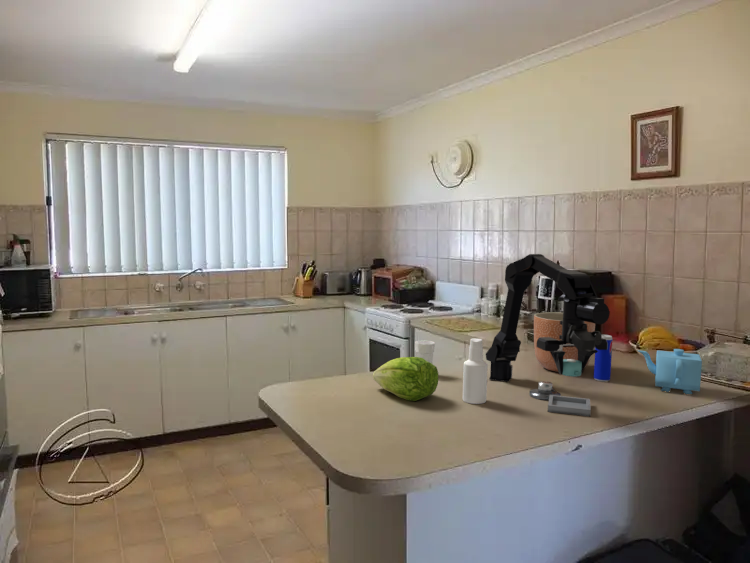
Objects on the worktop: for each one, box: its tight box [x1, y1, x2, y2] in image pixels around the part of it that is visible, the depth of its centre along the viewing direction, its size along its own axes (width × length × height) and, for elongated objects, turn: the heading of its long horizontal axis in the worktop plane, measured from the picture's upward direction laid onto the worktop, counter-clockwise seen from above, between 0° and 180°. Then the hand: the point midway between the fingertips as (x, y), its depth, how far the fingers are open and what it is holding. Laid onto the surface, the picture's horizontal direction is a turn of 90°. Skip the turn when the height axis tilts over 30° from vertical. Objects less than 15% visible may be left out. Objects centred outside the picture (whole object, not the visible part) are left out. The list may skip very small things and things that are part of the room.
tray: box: [547, 395, 592, 418], centre depth 164 cm, size 11×11×2 cm
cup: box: [414, 340, 436, 364], centre depth 199 cm, size 7×7×11 cm
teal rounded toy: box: [562, 359, 582, 378], centre depth 163 cm, size 7×6×4 cm
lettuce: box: [372, 356, 439, 402], centre depth 174 cm, size 13×22×14 cm
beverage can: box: [593, 334, 613, 383], centre depth 195 cm, size 5×5×15 cm
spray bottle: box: [462, 337, 489, 405], centre depth 169 cm, size 7×7×18 cm
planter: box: [533, 311, 596, 373], centre depth 209 cm, size 21×21×19 cm
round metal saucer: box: [528, 380, 562, 401], centre depth 176 cm, size 9×9×4 cm
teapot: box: [637, 348, 703, 395], centre depth 186 cm, size 18×16×13 cm
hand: (570, 374), depth 163 cm, fingers closed on teal rounded toy, 6 cm apart
